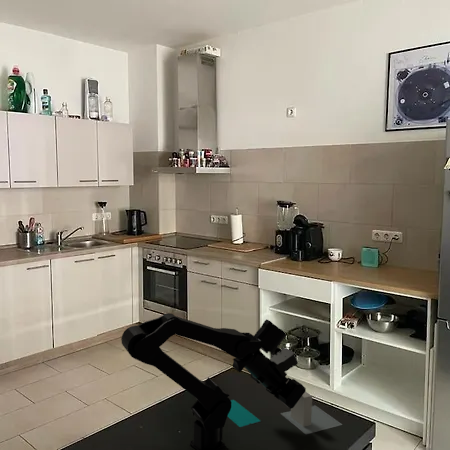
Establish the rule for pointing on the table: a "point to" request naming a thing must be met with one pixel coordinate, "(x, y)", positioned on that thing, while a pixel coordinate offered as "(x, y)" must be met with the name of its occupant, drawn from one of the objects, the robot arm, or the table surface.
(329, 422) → the mat
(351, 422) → the table surface
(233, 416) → the flat teal tile
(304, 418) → the box
